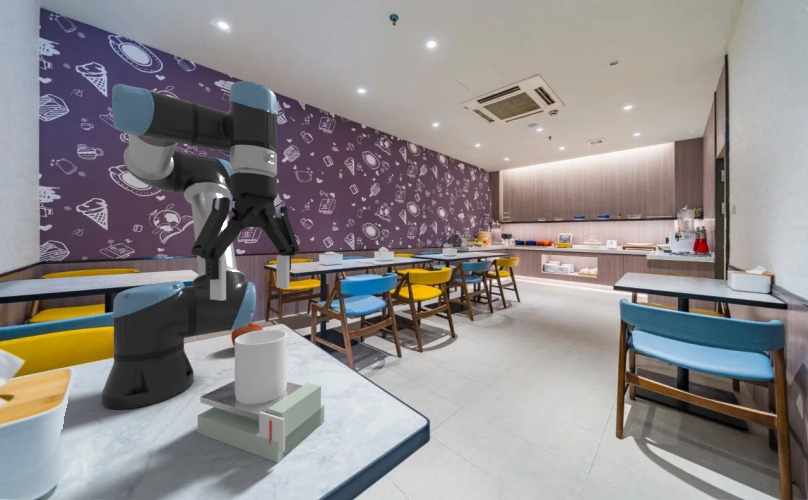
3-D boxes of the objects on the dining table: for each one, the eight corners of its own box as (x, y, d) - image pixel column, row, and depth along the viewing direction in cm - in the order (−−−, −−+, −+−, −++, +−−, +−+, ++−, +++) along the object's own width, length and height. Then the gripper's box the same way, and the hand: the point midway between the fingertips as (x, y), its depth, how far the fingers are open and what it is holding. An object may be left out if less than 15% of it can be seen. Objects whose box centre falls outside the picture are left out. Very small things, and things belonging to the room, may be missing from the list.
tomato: (241, 356, 84) (241, 328, 84) (224, 350, 89) (224, 324, 89) (271, 346, 92) (271, 321, 92) (254, 341, 97) (254, 317, 96)
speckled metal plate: (200, 413, 50) (200, 396, 50) (250, 387, 60) (250, 373, 60) (260, 434, 45) (260, 415, 45) (304, 402, 54) (304, 386, 54)
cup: (249, 412, 46) (249, 348, 46) (217, 389, 53) (217, 333, 53) (296, 390, 53) (296, 335, 52) (262, 373, 60) (262, 323, 60)
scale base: (197, 432, 50) (197, 392, 50) (252, 400, 60) (252, 367, 60) (282, 464, 43) (282, 417, 43) (328, 422, 53) (328, 384, 53)
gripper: (195, 154, 40) (196, 309, 40) (316, 186, 63) (316, 285, 63) (162, 159, 42) (163, 304, 43) (289, 188, 65) (289, 282, 66)
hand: (254, 293), depth 53 cm, fingers open, 13 cm apart
